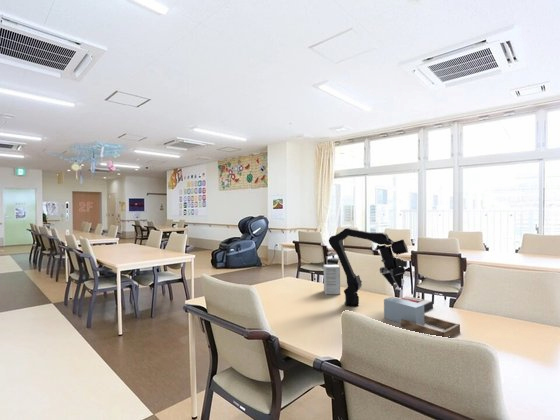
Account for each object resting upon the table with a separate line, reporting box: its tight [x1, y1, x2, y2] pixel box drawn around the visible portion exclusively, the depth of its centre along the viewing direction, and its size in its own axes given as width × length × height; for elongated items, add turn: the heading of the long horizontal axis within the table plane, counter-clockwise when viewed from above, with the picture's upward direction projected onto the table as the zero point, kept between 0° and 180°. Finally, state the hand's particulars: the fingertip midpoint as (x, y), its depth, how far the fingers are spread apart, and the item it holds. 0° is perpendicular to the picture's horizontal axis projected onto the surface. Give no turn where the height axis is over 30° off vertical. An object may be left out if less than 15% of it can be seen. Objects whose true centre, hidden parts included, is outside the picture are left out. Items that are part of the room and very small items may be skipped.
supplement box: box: [323, 264, 341, 295], centre depth 191 cm, size 10×9×17 cm
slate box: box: [383, 296, 425, 326], centre depth 142 cm, size 16×7×9 cm, turn 37°
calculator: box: [400, 295, 434, 313], centre depth 162 cm, size 11×4×15 cm
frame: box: [400, 314, 461, 338], centre depth 132 cm, size 18×14×3 cm
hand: (396, 286), depth 155 cm, fingers open, 9 cm apart
